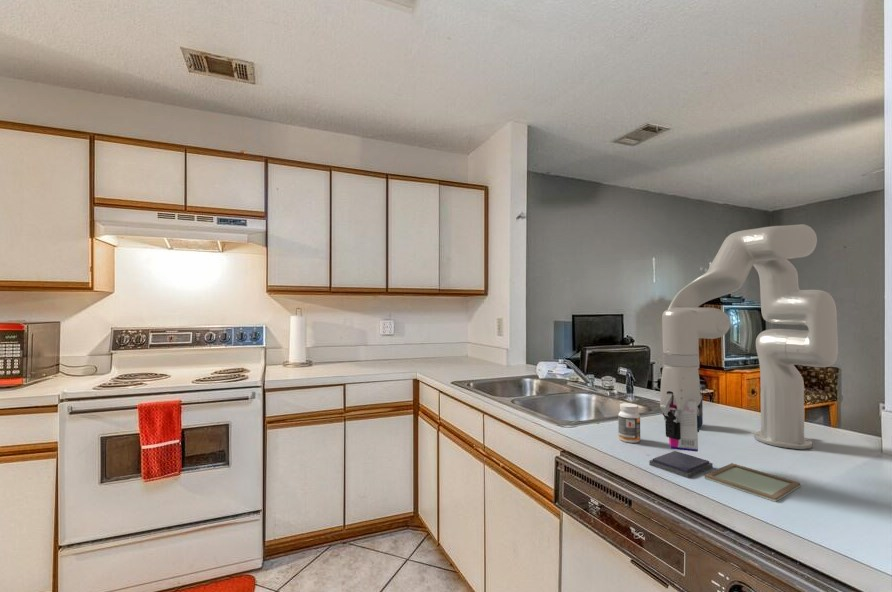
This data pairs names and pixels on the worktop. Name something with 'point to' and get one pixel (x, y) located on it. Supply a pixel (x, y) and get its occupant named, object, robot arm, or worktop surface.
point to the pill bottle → (629, 423)
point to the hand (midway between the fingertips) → (682, 434)
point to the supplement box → (686, 429)
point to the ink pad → (681, 464)
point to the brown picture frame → (753, 481)
